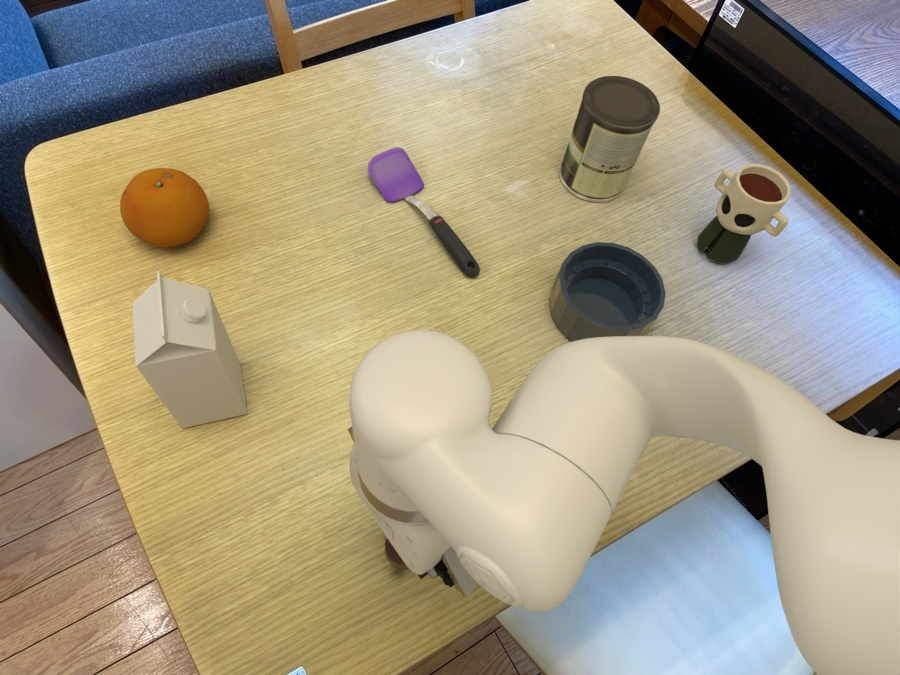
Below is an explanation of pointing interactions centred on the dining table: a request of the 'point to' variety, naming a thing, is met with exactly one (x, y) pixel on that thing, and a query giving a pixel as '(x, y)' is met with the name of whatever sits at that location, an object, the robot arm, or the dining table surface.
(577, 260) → the bowl
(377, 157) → the spatula
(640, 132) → the coffee can
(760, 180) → the character mug
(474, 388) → the robot arm
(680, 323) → the dining table surface
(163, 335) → the milk carton
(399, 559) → the brown wooden pestle
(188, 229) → the fruit
